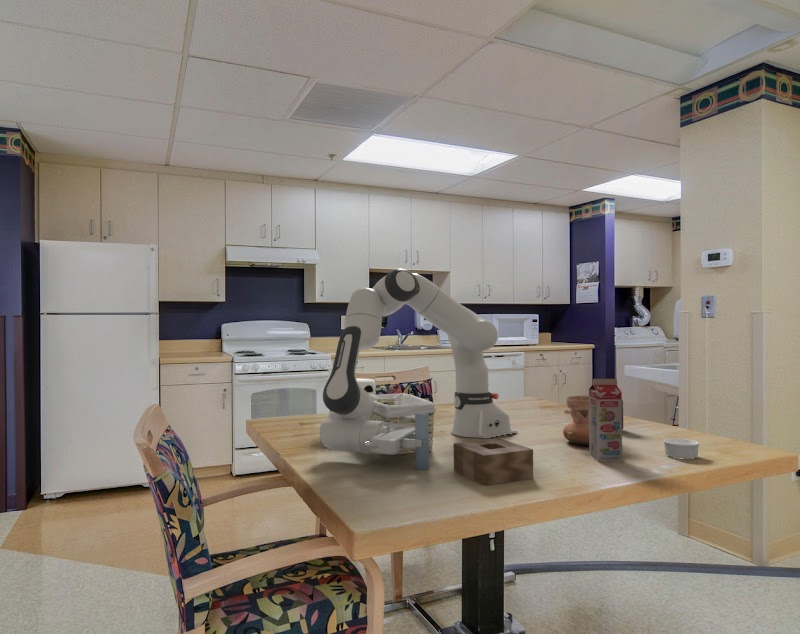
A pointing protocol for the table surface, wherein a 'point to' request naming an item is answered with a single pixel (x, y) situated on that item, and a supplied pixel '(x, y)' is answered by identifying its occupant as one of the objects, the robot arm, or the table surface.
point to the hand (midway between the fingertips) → (425, 441)
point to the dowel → (423, 434)
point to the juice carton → (605, 420)
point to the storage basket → (403, 412)
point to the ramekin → (681, 448)
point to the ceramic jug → (578, 419)
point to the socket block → (493, 461)
